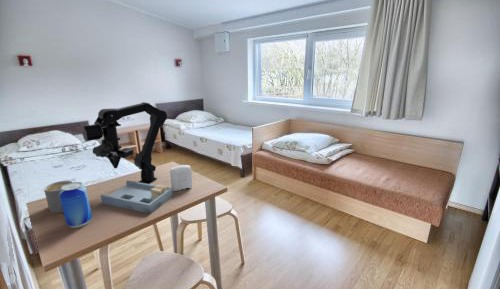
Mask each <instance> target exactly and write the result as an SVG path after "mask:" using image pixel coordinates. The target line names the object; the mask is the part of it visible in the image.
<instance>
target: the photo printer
mask: <svg viewBox="0 0 500 289" xmlns="http://www.w3.org/2000/svg"><path fill="white" fill-rule="evenodd" d="M169 173H170V185H171V186H170V188H172V190H173V192H176V191H182V189H183V190H187V189H186V188H189V189H191V188H190V187H192V188H193V176H192V168H191V165H187V164H180V165H176V166H173V167H171V168H170V172H169Z"/></svg>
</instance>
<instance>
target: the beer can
mask: <svg viewBox="0 0 500 289" xmlns="http://www.w3.org/2000/svg"><path fill="white" fill-rule="evenodd" d="M71 182H72V183H68V184H66V185H64V186H62V187H61V191H60V194H59V195H60V200H61V204H62V208H63V212H62V213H63V215H64V220H65V224H66V226H68V227H69V228H71V229H78V228H81V227H84V226H86V225H88V224H89V223H90V222H91V220H92V218H93V215H92V210H91V205H90V200H89V195H88V191H87V188H86V186H84V185H83V183H82V182H81V181H71Z"/></svg>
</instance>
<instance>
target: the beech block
mask: <svg viewBox="0 0 500 289" xmlns="http://www.w3.org/2000/svg"><path fill="white" fill-rule="evenodd" d="M156 185H157V186H155V187H154V188H152V189H151V196H152V198H157V197H159V196H160V195H162V194H163V193H164V192H166V191H167V187H168V185H162V184H156Z"/></svg>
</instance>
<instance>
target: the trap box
mask: <svg viewBox="0 0 500 289" xmlns="http://www.w3.org/2000/svg"><path fill="white" fill-rule="evenodd" d="M125 184H126V185H124V186H122V187H120V188H118V189H117V190H115V191H113V192H112V193H109V194H108V195H107V194H101V195H100V198H101V199H100V200H101V203H102V204H104V205H109V206H113V207H118V208H122V209H128V210H132V211H136V212H141V213H146V214H152V213H153V212H155V211H156V210H158V208H160V207H161V206H162V205H163V204H165V203H166V202H167V201H168V200H170V199H171V198H173V196H174V193H173V192H174V191H173V190H172V188H171V187H169V186H167V191H166V192H164V193H163V194H162V195H160V196H159V197H157V198H152V196H151V189H152V188H154V187H155V186H157V185H158V184H151V183H150V184H148V183H143V182H140V181H139V182H138V181H133V180H126V183H125Z"/></svg>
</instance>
